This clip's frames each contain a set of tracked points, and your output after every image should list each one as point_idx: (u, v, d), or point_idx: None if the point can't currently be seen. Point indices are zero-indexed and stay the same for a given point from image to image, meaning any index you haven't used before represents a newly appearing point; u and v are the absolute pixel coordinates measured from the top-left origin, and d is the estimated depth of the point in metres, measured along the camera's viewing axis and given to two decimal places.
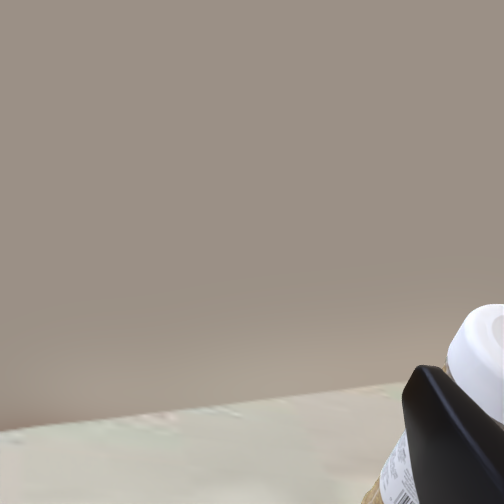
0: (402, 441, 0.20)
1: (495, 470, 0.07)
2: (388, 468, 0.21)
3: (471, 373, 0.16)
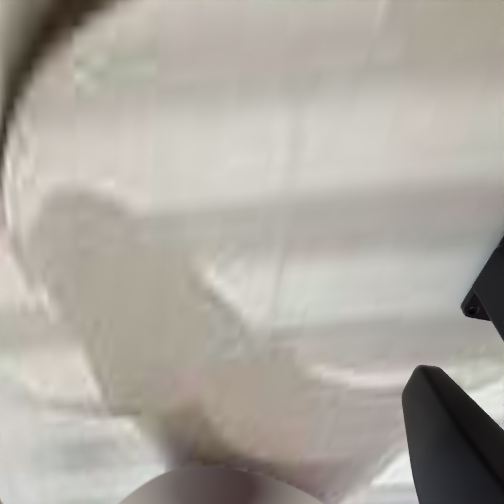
0: None
1: (495, 470, 0.07)
2: None
3: None
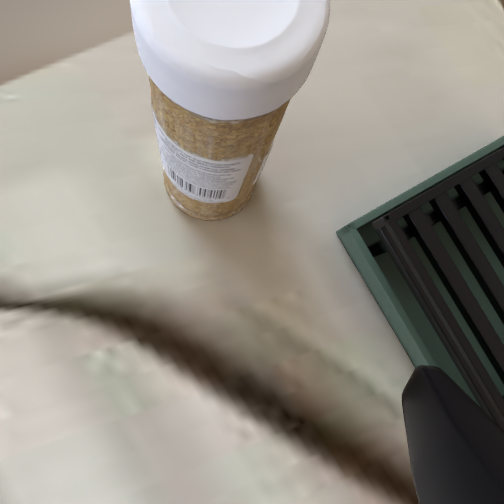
0: None
1: (495, 470, 0.07)
2: None
3: (144, 54, 0.11)
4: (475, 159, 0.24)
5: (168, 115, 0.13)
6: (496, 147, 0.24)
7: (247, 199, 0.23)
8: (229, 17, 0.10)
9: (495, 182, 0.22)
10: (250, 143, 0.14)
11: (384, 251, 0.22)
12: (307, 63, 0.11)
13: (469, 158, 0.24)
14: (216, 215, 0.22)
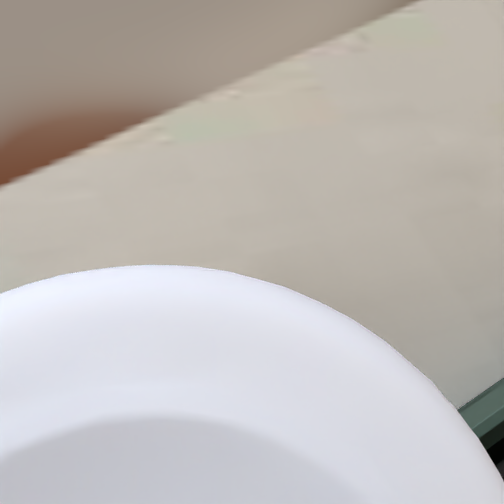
0: None
1: None
2: None
3: None
4: None
5: None
6: None
7: None
8: None
9: None
10: None
11: None
12: None
13: None
14: None
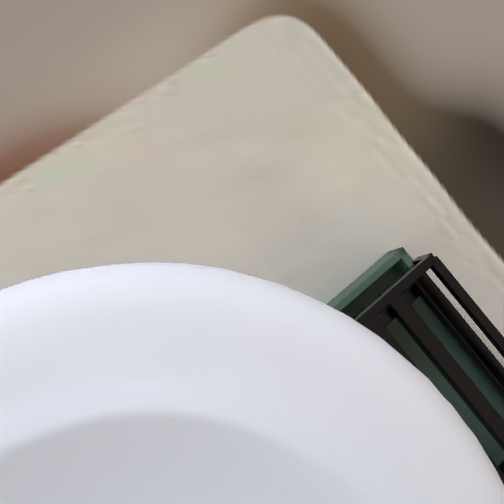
0: None
1: None
2: None
3: None
4: (356, 295, 0.22)
5: None
6: (377, 277, 0.22)
7: None
8: None
9: None
10: None
11: None
12: None
13: (349, 296, 0.22)
14: None
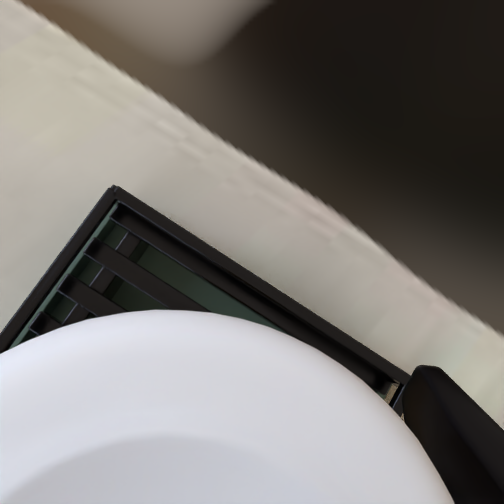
0: None
1: (495, 470, 0.07)
2: None
3: None
4: (75, 263, 0.18)
5: None
6: (97, 233, 0.18)
7: None
8: None
9: (81, 304, 0.16)
10: None
11: None
12: None
13: None
14: None
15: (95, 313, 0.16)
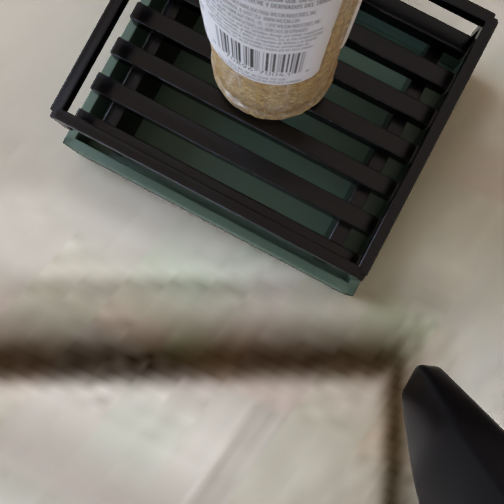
0: None
1: (495, 470, 0.07)
2: None
3: None
4: None
5: None
6: None
7: (328, 83, 0.17)
8: None
9: None
10: None
11: None
12: None
13: None
14: (288, 110, 0.16)
15: None
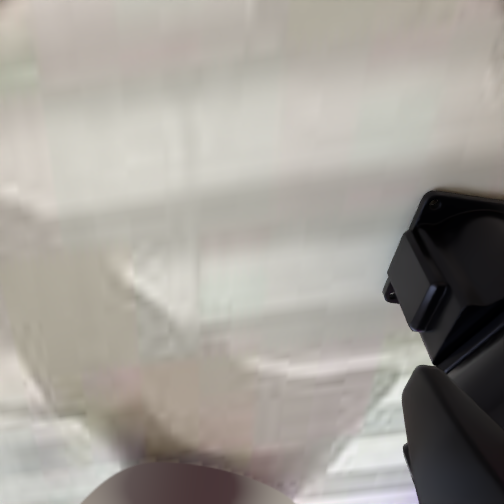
0: None
1: (495, 470, 0.07)
2: None
3: None
4: None
5: None
6: None
7: None
8: None
9: None
10: None
11: None
12: None
13: None
14: None
15: None
